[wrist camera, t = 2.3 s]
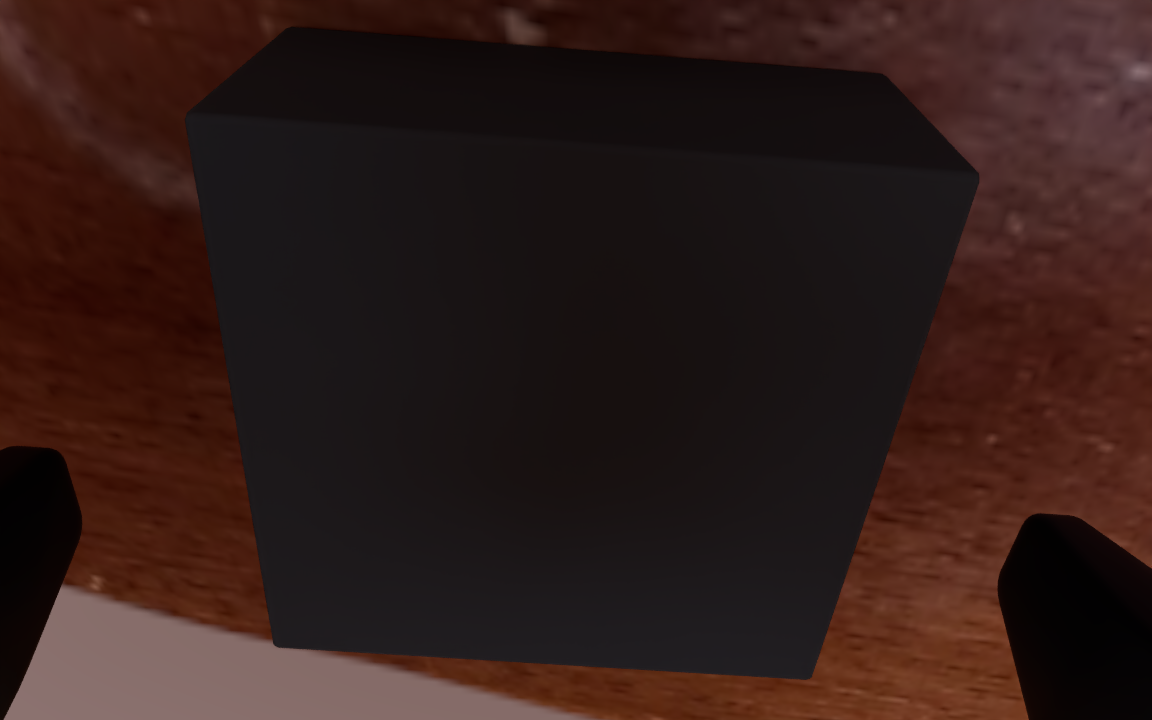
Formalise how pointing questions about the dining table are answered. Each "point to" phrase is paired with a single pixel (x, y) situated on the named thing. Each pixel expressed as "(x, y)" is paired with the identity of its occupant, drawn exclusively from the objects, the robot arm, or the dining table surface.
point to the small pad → (566, 341)
